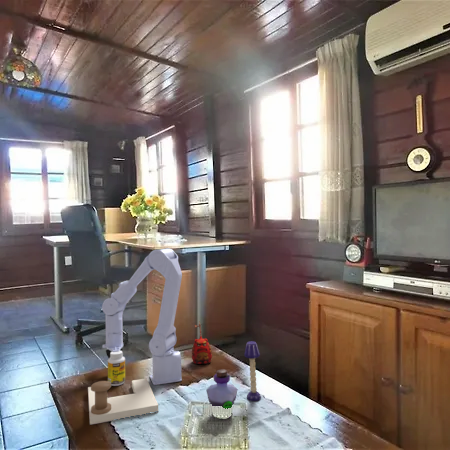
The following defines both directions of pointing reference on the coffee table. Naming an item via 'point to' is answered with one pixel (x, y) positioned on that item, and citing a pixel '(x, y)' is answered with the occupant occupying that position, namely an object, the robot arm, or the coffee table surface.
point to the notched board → (120, 402)
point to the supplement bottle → (116, 368)
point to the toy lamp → (252, 369)
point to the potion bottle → (222, 390)
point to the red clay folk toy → (201, 350)
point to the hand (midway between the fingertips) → (114, 370)
